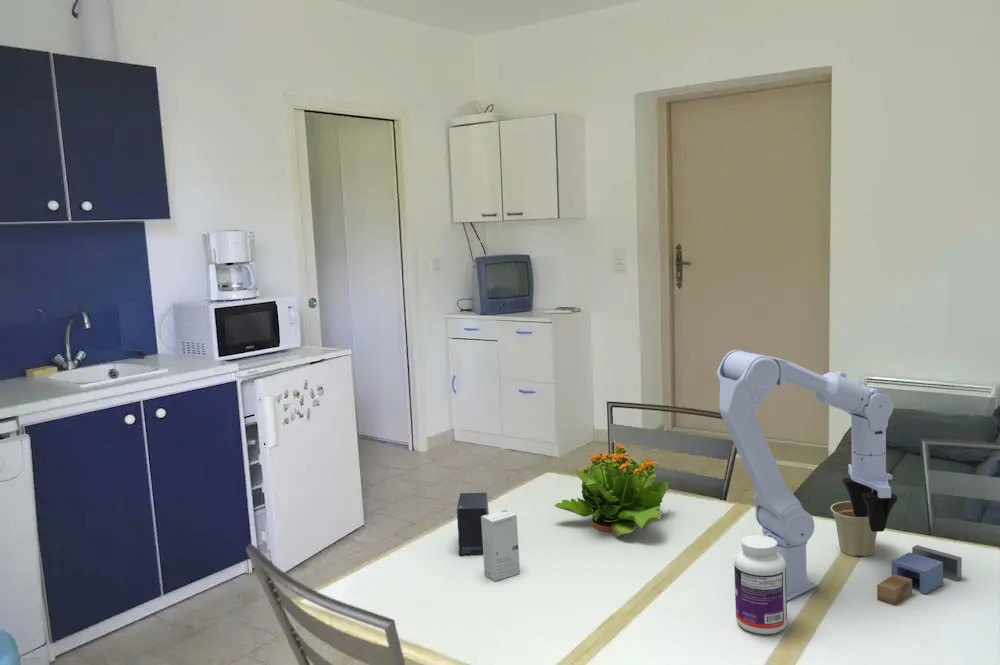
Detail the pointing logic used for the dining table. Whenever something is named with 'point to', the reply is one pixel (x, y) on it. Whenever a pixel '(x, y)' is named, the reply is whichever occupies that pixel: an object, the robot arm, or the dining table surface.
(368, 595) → the dining table surface
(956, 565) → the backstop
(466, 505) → the small box
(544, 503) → the dining table surface
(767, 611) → the pill bottle
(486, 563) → the skincare box
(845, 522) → the flower pot
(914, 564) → the socket block
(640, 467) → the potted flower
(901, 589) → the walnut peg
